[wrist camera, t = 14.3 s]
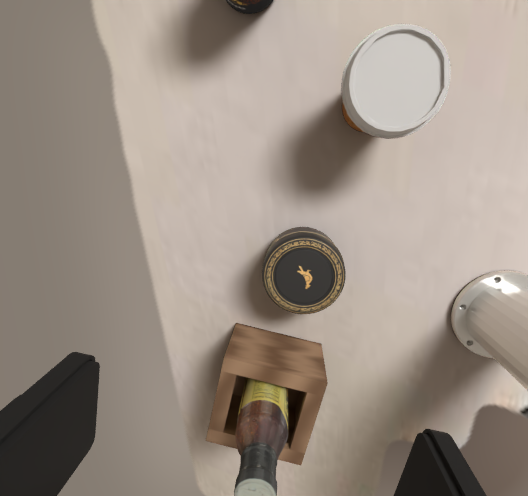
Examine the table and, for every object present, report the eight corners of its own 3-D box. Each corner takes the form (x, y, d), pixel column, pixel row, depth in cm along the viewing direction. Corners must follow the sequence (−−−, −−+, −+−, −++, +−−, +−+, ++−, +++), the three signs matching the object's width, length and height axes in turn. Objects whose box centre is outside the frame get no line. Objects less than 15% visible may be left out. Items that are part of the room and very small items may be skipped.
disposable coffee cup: (385, 157, 41) (422, 153, 29) (316, 128, 41) (325, 113, 29) (423, 80, 39) (479, 43, 27) (349, 49, 39) (374, -2, 27)
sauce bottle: (273, 396, 51) (262, 537, 31) (240, 376, 50) (207, 506, 31) (297, 366, 49) (300, 495, 30) (262, 345, 49) (242, 462, 29)
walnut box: (321, 343, 48) (327, 382, 39) (299, 414, 51) (301, 465, 43) (236, 322, 48) (224, 357, 40) (220, 394, 52) (205, 440, 43)
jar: (301, 208, 44) (302, 217, 36) (353, 258, 45) (365, 276, 37) (251, 259, 46) (243, 277, 39) (302, 305, 47) (304, 331, 40)
